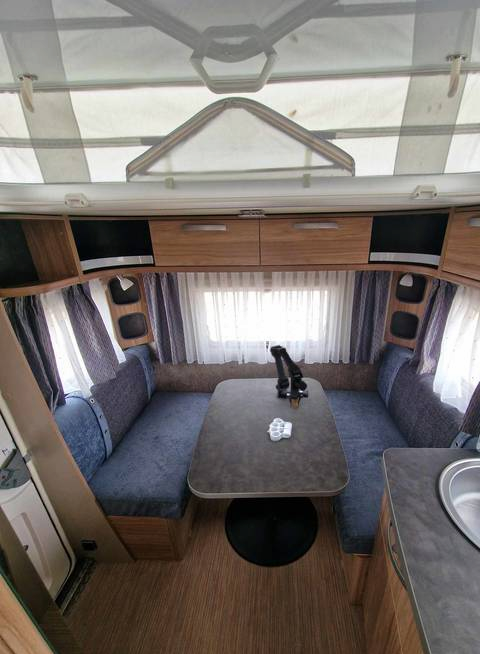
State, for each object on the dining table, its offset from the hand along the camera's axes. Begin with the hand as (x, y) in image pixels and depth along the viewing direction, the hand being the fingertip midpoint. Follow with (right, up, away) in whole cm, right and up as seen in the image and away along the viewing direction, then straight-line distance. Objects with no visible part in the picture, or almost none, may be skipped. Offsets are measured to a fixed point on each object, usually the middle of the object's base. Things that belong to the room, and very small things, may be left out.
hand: (294, 403), depth 200 cm
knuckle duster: (-12, -14, -24) cm, 30 cm away
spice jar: (0, -2, +1) cm, 2 cm away
